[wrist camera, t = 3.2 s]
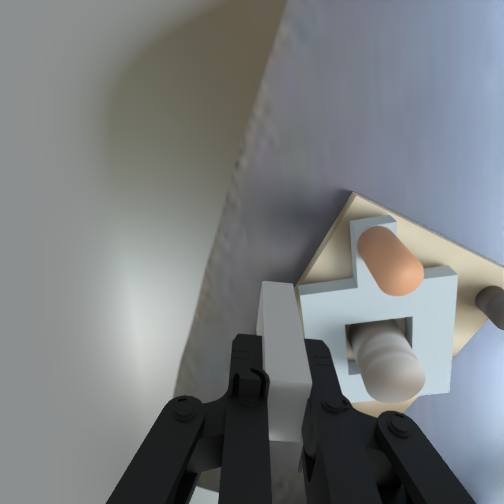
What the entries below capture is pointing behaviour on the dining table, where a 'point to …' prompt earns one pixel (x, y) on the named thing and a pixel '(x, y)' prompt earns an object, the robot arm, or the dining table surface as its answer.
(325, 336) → the flange plate
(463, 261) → the post base
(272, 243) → the dining table surface
